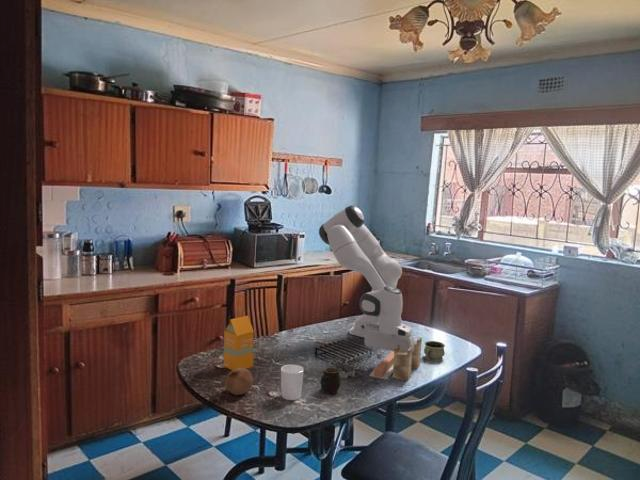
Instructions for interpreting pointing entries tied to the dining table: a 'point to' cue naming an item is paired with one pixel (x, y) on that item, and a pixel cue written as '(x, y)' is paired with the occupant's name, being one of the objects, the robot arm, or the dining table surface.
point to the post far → (416, 353)
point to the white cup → (291, 381)
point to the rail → (384, 365)
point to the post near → (402, 363)
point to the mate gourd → (330, 380)
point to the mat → (384, 374)
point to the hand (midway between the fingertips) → (387, 360)
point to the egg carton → (346, 367)
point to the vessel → (434, 350)
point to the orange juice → (239, 343)
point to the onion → (239, 381)
